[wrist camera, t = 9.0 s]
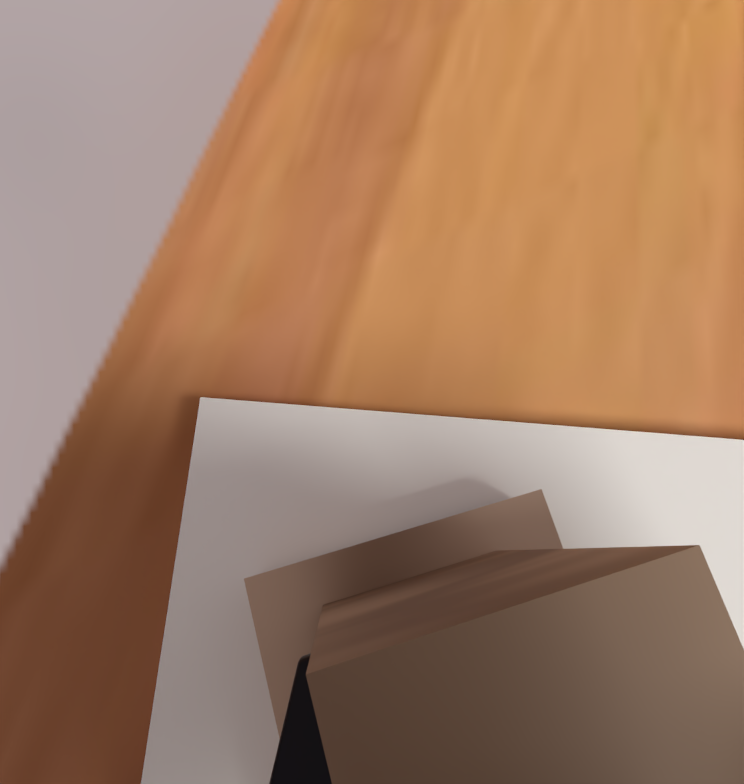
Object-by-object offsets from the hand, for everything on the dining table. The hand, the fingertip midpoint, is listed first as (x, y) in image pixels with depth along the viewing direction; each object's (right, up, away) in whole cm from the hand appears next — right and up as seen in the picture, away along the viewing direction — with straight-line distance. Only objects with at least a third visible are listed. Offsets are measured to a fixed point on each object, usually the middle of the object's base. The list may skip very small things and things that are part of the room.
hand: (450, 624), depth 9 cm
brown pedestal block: (0, -3, +5) cm, 6 cm away
